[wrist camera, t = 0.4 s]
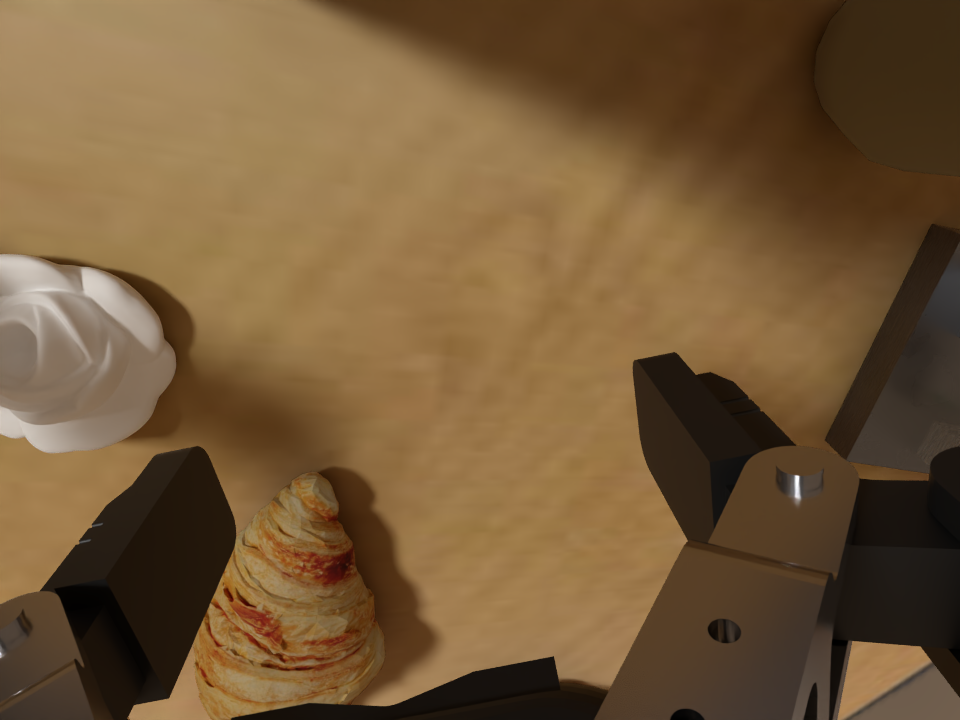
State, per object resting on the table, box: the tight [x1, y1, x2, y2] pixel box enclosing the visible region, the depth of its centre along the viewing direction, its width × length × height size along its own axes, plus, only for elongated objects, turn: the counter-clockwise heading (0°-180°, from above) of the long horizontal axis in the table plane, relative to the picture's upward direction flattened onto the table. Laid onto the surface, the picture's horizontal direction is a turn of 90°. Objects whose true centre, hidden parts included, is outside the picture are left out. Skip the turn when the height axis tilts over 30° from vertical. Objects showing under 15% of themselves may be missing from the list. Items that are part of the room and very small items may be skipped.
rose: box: [0, 254, 176, 453], centre depth 29 cm, size 10×4×10 cm
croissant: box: [194, 472, 386, 720], centre depth 36 cm, size 21×10×8 cm, turn 169°
